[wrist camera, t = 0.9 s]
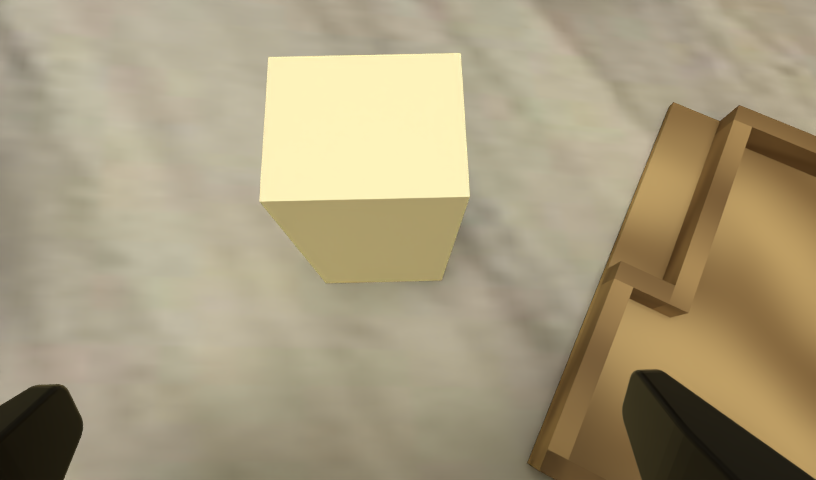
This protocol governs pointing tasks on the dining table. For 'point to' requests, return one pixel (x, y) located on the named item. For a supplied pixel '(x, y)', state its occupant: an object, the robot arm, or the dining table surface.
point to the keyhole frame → (701, 296)
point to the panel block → (367, 162)
